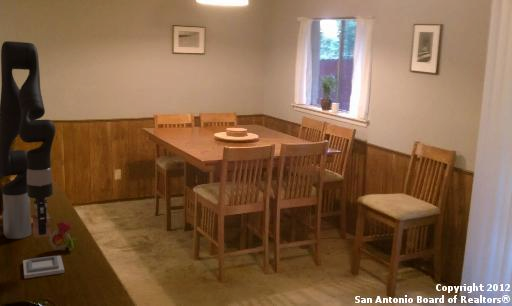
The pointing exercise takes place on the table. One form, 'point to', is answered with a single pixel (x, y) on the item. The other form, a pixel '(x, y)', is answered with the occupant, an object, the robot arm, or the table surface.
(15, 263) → the table surface
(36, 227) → the terracotta block
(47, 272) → the socket plate
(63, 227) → the bird rattle
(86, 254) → the table surface
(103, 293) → the table surface
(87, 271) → the table surface
